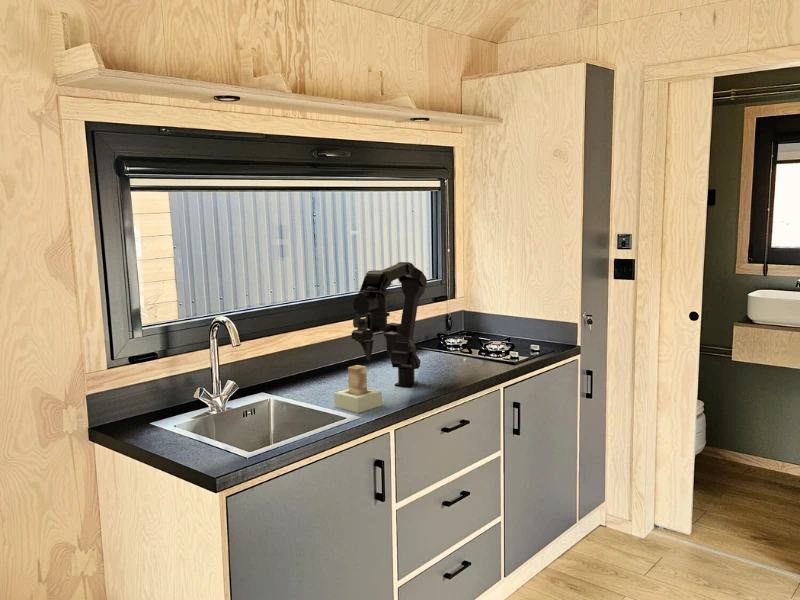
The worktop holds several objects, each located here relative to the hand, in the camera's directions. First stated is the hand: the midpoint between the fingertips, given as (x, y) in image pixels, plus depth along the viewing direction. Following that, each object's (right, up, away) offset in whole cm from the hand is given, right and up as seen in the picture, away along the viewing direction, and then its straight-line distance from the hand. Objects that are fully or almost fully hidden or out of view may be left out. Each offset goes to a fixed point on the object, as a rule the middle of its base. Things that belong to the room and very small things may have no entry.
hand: (379, 357), depth 231 cm
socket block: (-6, -14, -8) cm, 18 cm away
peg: (-6, -14, -8) cm, 18 cm away
